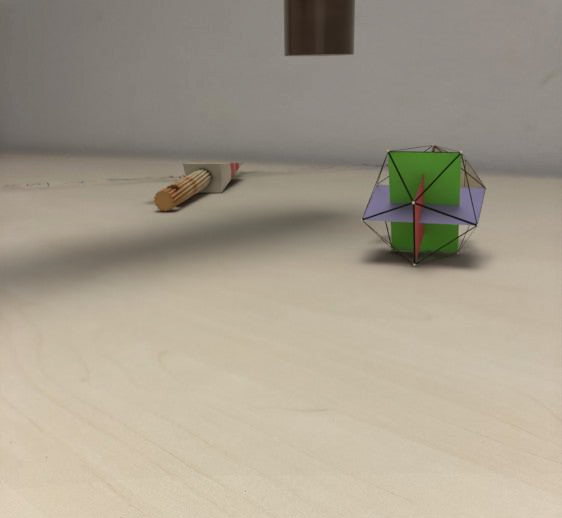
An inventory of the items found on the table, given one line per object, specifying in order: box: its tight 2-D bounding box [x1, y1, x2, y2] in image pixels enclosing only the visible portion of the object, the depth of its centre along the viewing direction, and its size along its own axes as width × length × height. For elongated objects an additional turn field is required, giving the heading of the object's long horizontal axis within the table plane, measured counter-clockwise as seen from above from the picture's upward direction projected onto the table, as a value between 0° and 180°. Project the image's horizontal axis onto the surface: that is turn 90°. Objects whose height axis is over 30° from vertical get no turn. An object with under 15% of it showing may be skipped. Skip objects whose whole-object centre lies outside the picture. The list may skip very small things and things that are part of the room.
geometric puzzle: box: [360, 143, 488, 267], centre depth 42 cm, size 7×7×8 cm
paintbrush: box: [153, 161, 244, 212], centre depth 68 cm, size 4×3×20 cm
